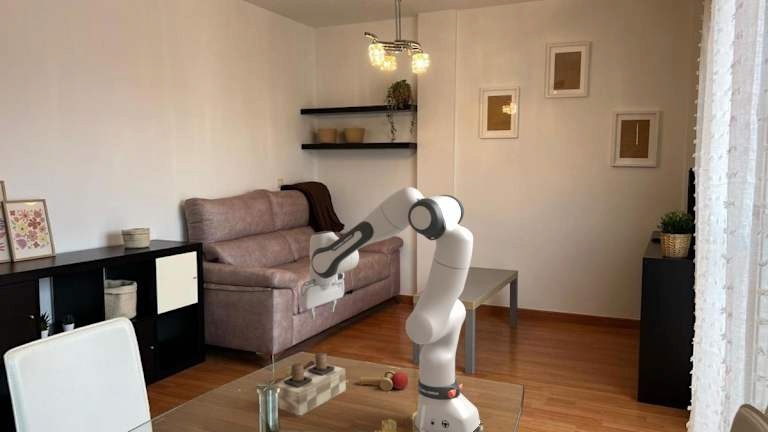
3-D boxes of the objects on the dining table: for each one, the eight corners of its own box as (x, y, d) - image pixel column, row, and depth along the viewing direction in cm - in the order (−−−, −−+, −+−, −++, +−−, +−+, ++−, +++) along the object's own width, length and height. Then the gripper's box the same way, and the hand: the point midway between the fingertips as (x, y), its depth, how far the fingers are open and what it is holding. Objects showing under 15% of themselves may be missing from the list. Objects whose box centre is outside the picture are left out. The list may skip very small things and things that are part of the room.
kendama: (357, 393, 207) (405, 391, 202) (356, 375, 208) (403, 373, 202) (364, 388, 214) (411, 386, 209) (363, 371, 215) (409, 368, 210)
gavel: (301, 355, 234) (325, 356, 232) (302, 366, 234) (325, 367, 232) (284, 372, 213) (310, 373, 211) (284, 384, 213) (310, 385, 212)
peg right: (329, 376, 205) (329, 353, 204) (322, 380, 201) (321, 357, 200) (321, 374, 207) (320, 351, 206) (313, 378, 204) (313, 355, 203)
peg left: (306, 388, 195) (306, 364, 194) (298, 392, 192) (297, 368, 191) (298, 386, 197) (297, 362, 196) (289, 390, 194) (289, 366, 193)
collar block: (345, 390, 206) (345, 366, 205) (299, 416, 187) (298, 389, 186) (320, 383, 213) (319, 359, 212) (273, 407, 193) (272, 381, 192)
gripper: (308, 284, 189) (308, 324, 191) (347, 272, 205) (347, 310, 207) (294, 281, 192) (294, 321, 194) (333, 270, 209) (333, 306, 211)
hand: (322, 315), depth 201 cm, fingers open, 8 cm apart
